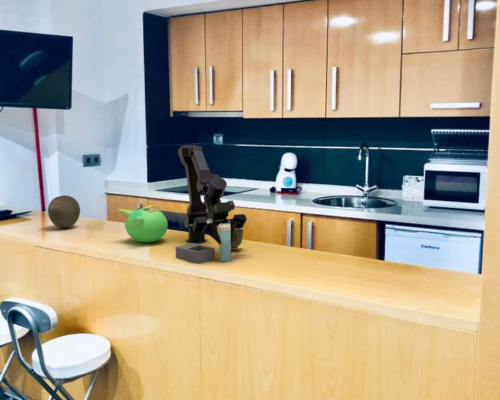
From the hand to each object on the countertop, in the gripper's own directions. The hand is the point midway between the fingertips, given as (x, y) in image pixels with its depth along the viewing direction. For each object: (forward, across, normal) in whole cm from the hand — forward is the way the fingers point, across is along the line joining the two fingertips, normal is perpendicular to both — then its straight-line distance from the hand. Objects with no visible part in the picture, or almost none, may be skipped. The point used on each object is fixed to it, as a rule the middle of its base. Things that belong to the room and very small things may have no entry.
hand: (226, 243), depth 184 cm
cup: (-5, +8, +15) cm, 18 cm away
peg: (+4, 0, +6) cm, 7 cm away
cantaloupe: (-56, -45, +65) cm, 97 cm away
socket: (-2, -8, +11) cm, 14 cm away
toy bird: (-25, -18, +35) cm, 47 cm away
